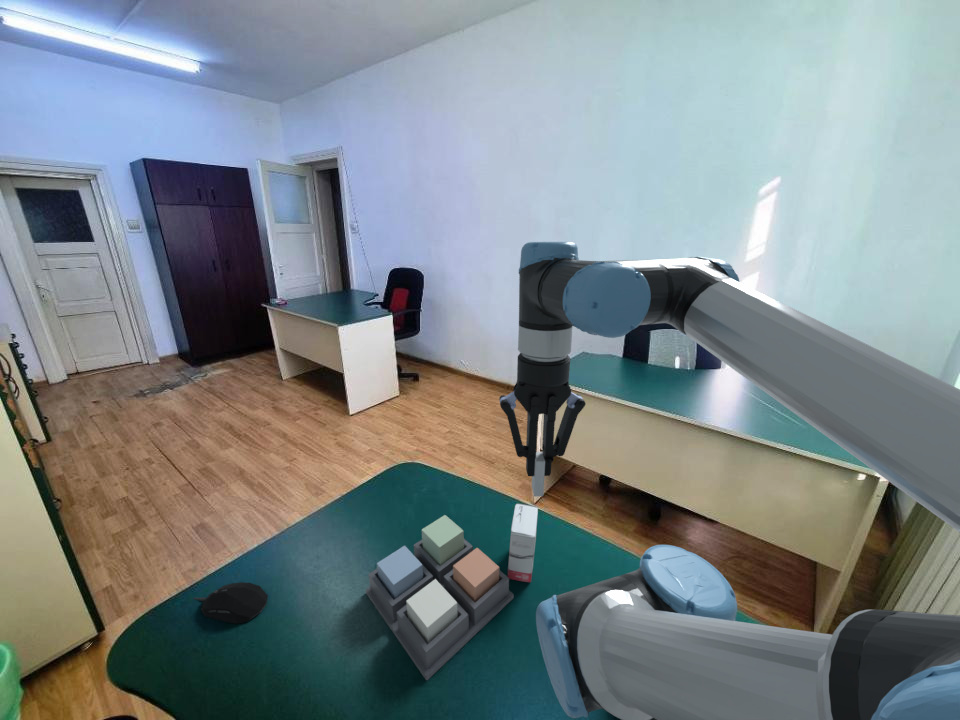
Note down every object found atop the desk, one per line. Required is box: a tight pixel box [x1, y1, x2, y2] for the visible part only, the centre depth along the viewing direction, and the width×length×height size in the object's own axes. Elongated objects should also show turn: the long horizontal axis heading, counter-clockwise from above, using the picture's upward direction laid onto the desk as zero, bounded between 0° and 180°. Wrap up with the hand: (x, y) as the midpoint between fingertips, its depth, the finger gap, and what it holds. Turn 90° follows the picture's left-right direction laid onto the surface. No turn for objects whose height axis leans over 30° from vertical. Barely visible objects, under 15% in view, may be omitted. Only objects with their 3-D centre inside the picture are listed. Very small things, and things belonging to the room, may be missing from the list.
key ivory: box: [406, 579, 458, 644], centre depth 62 cm, size 6×6×5 cm
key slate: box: [376, 545, 423, 600], centre depth 69 cm, size 6×6×5 cm
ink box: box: [507, 503, 539, 583], centre depth 76 cm, size 9×5×12 cm, turn 169°
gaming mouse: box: [192, 581, 269, 625], centre depth 69 cm, size 6×15×4 cm, turn 81°
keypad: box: [365, 538, 515, 682], centre depth 70 cm, size 20×20×5 cm
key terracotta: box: [453, 547, 500, 602], centre depth 69 cm, size 6×6×5 cm
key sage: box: [421, 514, 465, 566], centre depth 75 cm, size 6×6×5 cm
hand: (537, 490), depth 61 cm, fingers closed
